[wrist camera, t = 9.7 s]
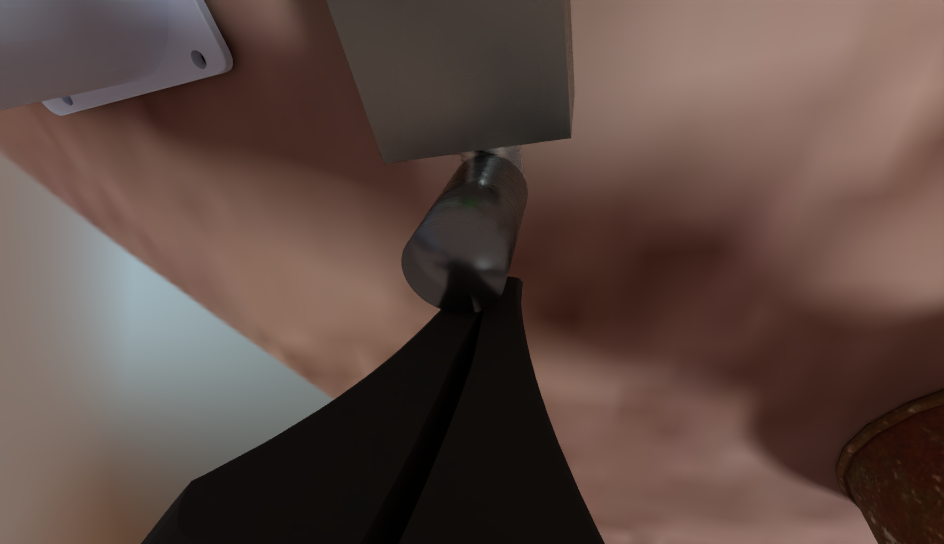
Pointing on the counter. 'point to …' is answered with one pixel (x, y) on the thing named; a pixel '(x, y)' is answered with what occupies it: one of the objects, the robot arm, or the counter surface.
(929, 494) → the oil lamp
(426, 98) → the pin mount
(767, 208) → the counter surface
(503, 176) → the pin
